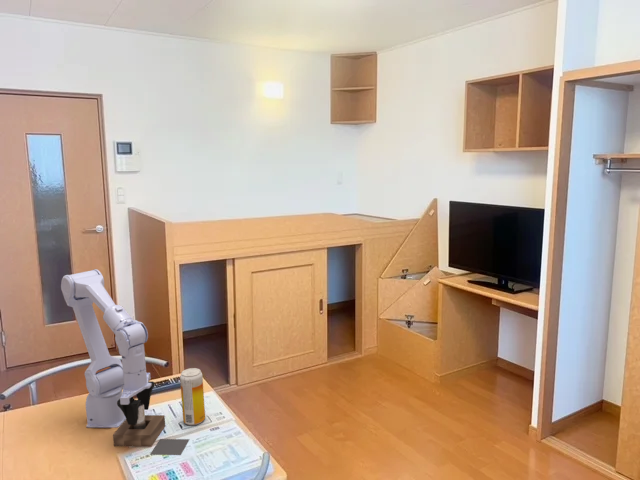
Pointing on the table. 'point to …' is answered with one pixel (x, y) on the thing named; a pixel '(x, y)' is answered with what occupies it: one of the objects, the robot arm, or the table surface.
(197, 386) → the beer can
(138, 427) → the steel peg
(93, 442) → the table surface
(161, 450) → the rubber mat
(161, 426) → the walnut block
